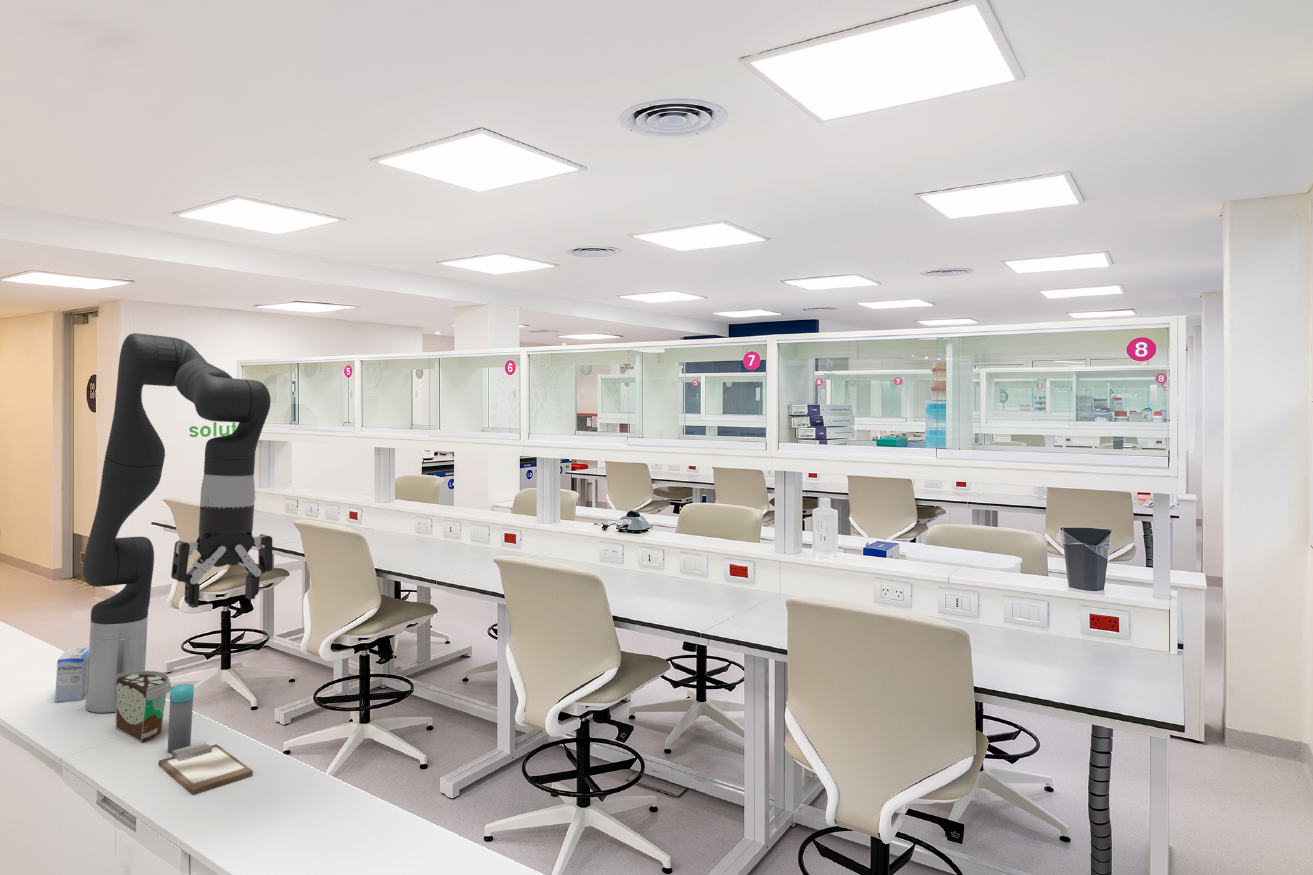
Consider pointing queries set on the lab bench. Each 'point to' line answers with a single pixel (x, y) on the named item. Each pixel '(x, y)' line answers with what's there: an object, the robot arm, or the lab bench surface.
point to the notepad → (204, 767)
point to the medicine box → (72, 674)
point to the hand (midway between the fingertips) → (222, 602)
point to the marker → (180, 716)
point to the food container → (141, 703)
